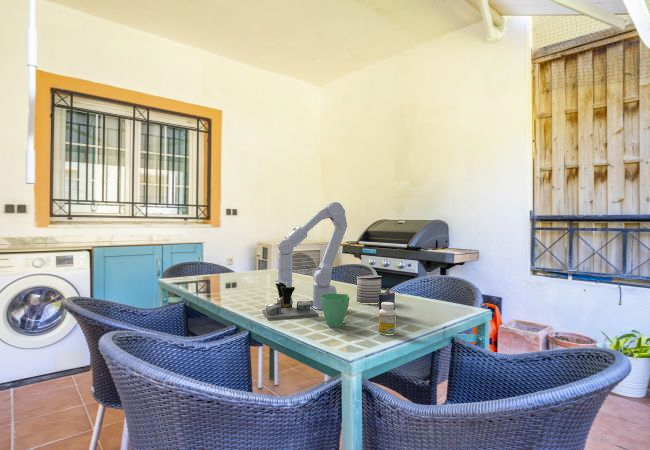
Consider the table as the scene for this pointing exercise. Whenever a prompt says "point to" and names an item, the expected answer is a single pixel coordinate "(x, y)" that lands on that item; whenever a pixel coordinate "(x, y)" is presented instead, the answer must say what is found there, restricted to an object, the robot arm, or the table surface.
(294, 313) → the base board
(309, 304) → the shaft
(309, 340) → the table surface
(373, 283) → the can
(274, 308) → the shaft
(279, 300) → the coupler
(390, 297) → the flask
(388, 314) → the supplement bottle
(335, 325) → the green cup
